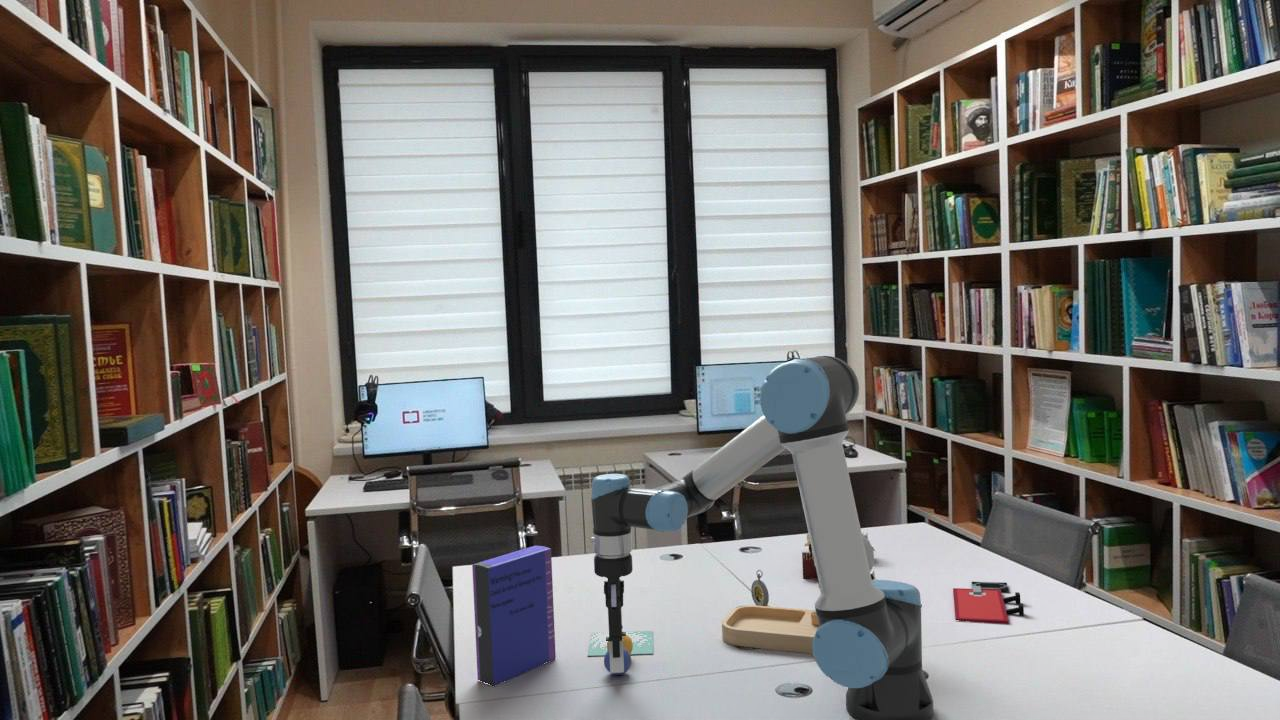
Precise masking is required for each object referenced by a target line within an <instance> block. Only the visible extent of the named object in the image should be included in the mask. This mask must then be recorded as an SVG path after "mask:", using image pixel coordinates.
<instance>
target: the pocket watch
mask: <svg viewBox="0 0 1280 720" xmlns="http://www.w3.org/2000/svg"><path fill="white" fill-rule="evenodd" d="M759 572H760V573H761V574H760V573H759ZM755 573H756V574H755V575H756V578H757V579H756V580H754V581H752V585H751V588H750V589H751V591H750V593H751V597H752V600H753V603H754V605H756V606H768V604H769V601H770V600H769V599H770V597H769V590H768V587H767V585H766V584H765V582H764V581H763V580H761V578H762V577H763V574H764V573H763V571H762V570H760V569H758V570H757V571H756V572H755ZM742 606H743V605H740V606H736V607H735V608H737V607H742ZM746 606H749V605H746Z"/></svg>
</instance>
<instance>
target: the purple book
mask: <svg viewBox="0 0 1280 720" xmlns="http://www.w3.org/2000/svg"><path fill="white" fill-rule="evenodd" d="M552 560H553V559H552V548H549V547H547V546H543V545H533V546H529V547H526V548H522V549H519V550H516V551H512V552H509V553H506V554H503V555H500V556H496V557H493V558H489V559H486V560H483V561H480V562H476V563H472V565H471V566H472V567H471V568H472V569H471V570H472V587H473V609H474V628H475V631H474V632H475V651H476V652H475V653H476V669H477V671H476V672H477V681H478V680H480V681H482V682H485V683H488V684H490V685H492V687H493V686H494V687H496V686H495V685H497V686H499V685H501V684H503V683H505V682H504V681H506V682H508V681H510V680H512V679H514V677H515V678H517V677H519V676H520V675H523V673H524V674H526V673H528V672H530V671H533V670H534V668H535V669H537V668H539V667H541V666H543V665H542V664H544V663H546V662H548V663H550V662H552V661H551V660H553V659H555V658H556V659H557V657H556V656H557V655H556V654H557V653H556V636H555V635H556V634H555V633H556V632H555V613H554V611H555V610H554V608H555V607H554V590H553V589H554V587H553V583H554V582H553V565H552ZM556 659H555V660H556ZM549 661H550V662H549ZM553 661H554V660H553ZM546 664H547V663H546ZM540 665H541V666H540ZM544 665H545V664H544ZM538 666H539V667H538ZM536 667H537V668H536ZM532 669H533V670H532ZM529 670H530V671H529ZM527 671H528V672H527ZM525 672H526V673H525ZM516 676H517V677H516ZM509 679H510V680H509ZM507 680H508V681H507ZM502 682H503V683H502ZM500 683H501V684H500ZM498 684H499V685H498ZM490 685H489V686H490Z"/></svg>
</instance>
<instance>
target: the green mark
mask: <svg viewBox="0 0 1280 720" xmlns="http://www.w3.org/2000/svg"><path fill="white" fill-rule="evenodd" d="M638 632H640V633H638ZM596 633H597V634H598V633H599V632H596ZM602 633H603V632H602ZM606 633H607V631H606ZM633 633H636V634H635V635H638V634H643V635H639V636H644V635H647V637H642V638H643V639H647V640H648V641H644V642H645V643H641V644H642V645H639V646H641V647H639V646H638V645H637V644H639V643H640V641H641V640H643V639H639V641H636V643H635V642H632V643H633V649H632V652H631V654H630V656H639V655H640V654H641V656H643V655H644V654H648V655H654V631H653V630H639V631H638V630H635V631H634V630H633ZM633 633H628V634H633ZM603 634H604V633H603ZM594 635H596V634H594ZM591 636H593V635H591V634H590V637H591ZM631 636H632V635H631ZM596 637H597V636H596ZM594 638H595V637H593V639H594ZM634 638H635V637H634ZM649 638H651V639H649ZM591 640H592V639H591V638H590V640H589V642H590V641H591ZM598 640H599V638H598ZM598 640H596V642H597V641H598ZM631 640H632V638H631ZM596 642H595V641H593V643H591V644H590V643H589V645H588V652H587V657H588V656H591V657H605V654H606V653H607V650H606V648H607V646H605V645H604V646H605V647H602V648H604V649H602V648H600V644H601V643H600V642H599V644H597V645H598V646H596V648H595V647H593V645H594V644H595V643H596ZM602 642H603V641H602ZM649 643H650V644H649ZM648 644H649V645H648ZM592 647H593V648H594V649H593V648H592ZM590 650H591V651H590Z"/></svg>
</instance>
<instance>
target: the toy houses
mask: <svg viewBox="0 0 1280 720" xmlns="http://www.w3.org/2000/svg"><path fill="white" fill-rule="evenodd" d="M862 534H863V535H864V536H865V537H866V538H867V539H868V540H869V537H868V532H866V534H864V532H862ZM806 541H807V542H806V543H804V548H805V547H807V546H808V550H805V549H803V550H802V551H801V557H802V563H801V564H802V579H805V580H806V579H807V580H808V579H810V580H811V579H815V580H818V575H817V570H816V566H815V561H814V556H813V551H812V547H811V542H810V537H809V533H807V534H806ZM872 549H873V552H876V550H875V547H874V546H872ZM870 575H871V579H872V580H876V577H875V571H874V570H873V571H872V573H870ZM818 588H819V589H820V584H819V583H818Z"/></svg>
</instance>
